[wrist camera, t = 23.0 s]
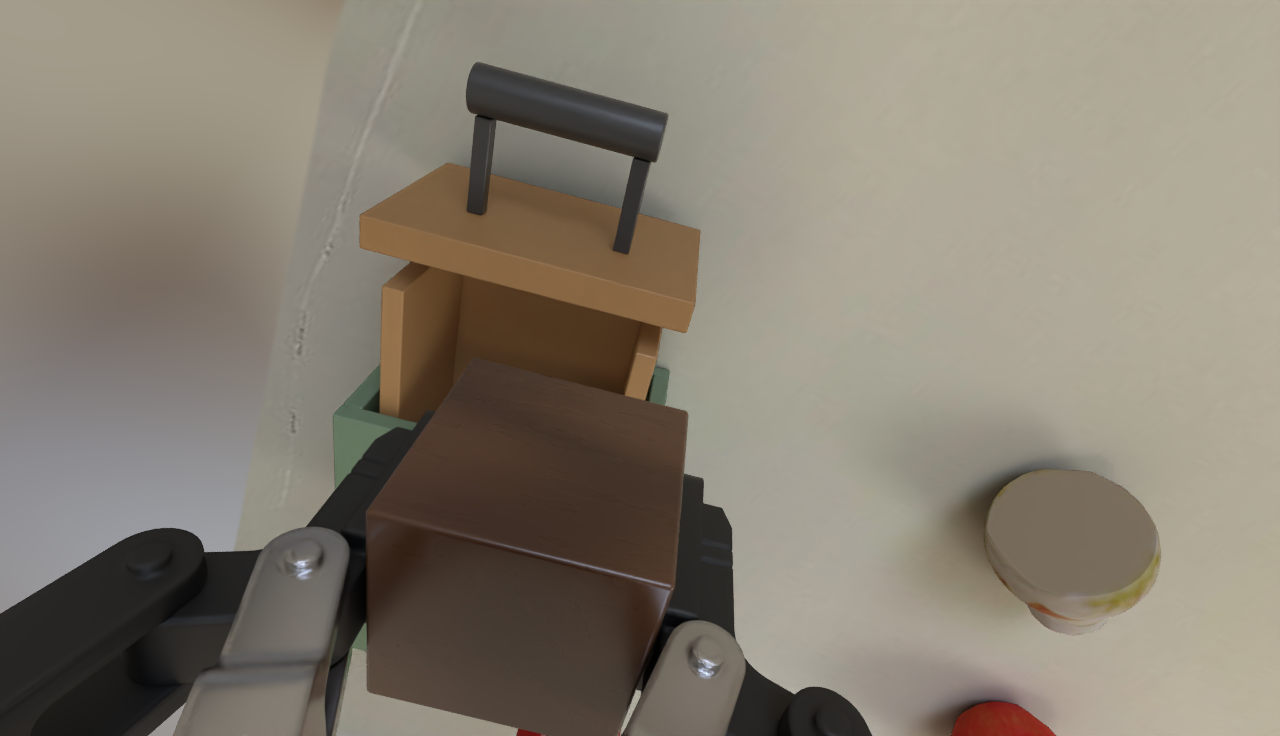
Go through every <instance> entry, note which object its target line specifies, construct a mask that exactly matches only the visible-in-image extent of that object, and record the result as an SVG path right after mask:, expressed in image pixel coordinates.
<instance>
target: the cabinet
mask: <svg viewBox="0 0 1280 736" xmlns="http://www.w3.org/2000/svg"><path fill="white" fill-rule="evenodd" d="M668 379H669V370H666V369H662V368H658V367H655V368H654V371H653V375H652V378H651V381H650V385H649V388H648V392H647V395H646V398H645V401H649V402H653V403H657V404H661V405H665V403H666V395H667V387H668ZM416 425H417V423H415V422H411V421H407V420H403V419H399V418H395V417H391V416H388V415H384V414H380V365H379V366H378V367H377V368H376V369H375V370H374V371H373V372H372V373H371V374H370V375H369V377H368V378H367V379H366V380H365V381H364V382H363V383H362V384H361V385H360V386H359V387H358V388H357V389H356V391H355V392H354V393H353V394H352V395H351V396H350V397H349V398H348V399H347V400H346V401H345V402H344V405H342V406H341V407H340V408H339V409H338V410H337V411H336V412H335V413H334V415H333V437H334V471H335V490H336V488H337V487H338V486H339V485H340V483H341V482H342V481H343V480H344V478H345V477H346V476H347V474H348V473H349V474H350V473H351V469H352V468H353V467H354V466H355V464H356V463H357V462H358V461H359V459H360V460H361V459H362V456H363V454H364V453H365V452H366V450H367V449H368V448H369V447H370V445H371V444H372V443H373V442H374V440H375V439H376V438H378V437H380V436H382V435H383V434H385V433H387V432H388V431H390V430H392V429H394V428H395V427H401V428H405V429H409V430H413V429H414V427H415V426H416ZM352 648H355V649H359V650H364V651H367V633H366V623H364V625H363V627H362V629H361V630H360V632H359V634H358V636H357V637H356V639H355V641H354V643H353V644H352Z"/></svg>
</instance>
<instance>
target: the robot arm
mask: <svg viewBox="0 0 1280 736" xmlns="http://www.w3.org/2000/svg"><path fill="white" fill-rule="evenodd" d="M435 412H436V411H433V410H427V411H426V412H425V414H424V415H423V416H422V418H421V419H420V420H419V422H418V423H417V425H416V426H415V427H414V429H413V430H409V429H405V428H401V427H395V428H394V429H392V430H390V431H388V432H387V433H385V434H383V435H382V436H380V437H378V438H376V439H375V440H374V442H373V443H372V444H371V445H370V447H369V448H368V449H367V450H366V452H365V453H364V454H363V456H362V459H361V460H360V459H359V461H358V462H357V463H356V464H355V466H354V467H353V468H352V469H351V473H350V474H349V473H348V474H347V476H346V477H345V478H344V480H343V481H342V482H341V483H340V485H339V486H338V487H337V488H336V490H335V491H334V492H333V493H332V495H331V496H330V497H329V499H328V500H327V501H326V502H325V504H324V505H323V506H322V507H321V509H320V510H319V511H318V512H317V514H316V515H315V516H314V517H313V519H312V520H311V521H310V523H309V524H308V525H307V526H306V527H304V528H298V529H295V530H291V531H288V532H286V533H283V534H282V535H280V536H278V537H276V538H275V539H273V540H272V541H271V542H269V543H268V544H267V545H266V546H265V547H264V549H261V550H254V551H233V552H204V548H203V545H202V542H201V541H200V539H199V538H198V537H197V536H196V535H194V534H193V533H191V532H188V531H186V530H181V529H176V528H160V529H153V530H149V531H144V532H141V533H138V534H135V535H133V536H130V537H128V538H126V539H124V540H122V541H120V542H118V543H117V544H115V545H113V546H112V547H110V548H108V549H107V550H105V551H103V552H102V553H100V554H98V555H97V556H95V557H93V558H92V559H90V560H89V561H87V562H85V563H83V564H82V565H80V566H79V567H77V568H75V569H74V570H72V571H70V572H69V573H67V574H65V575H64V576H62V577H60V578H59V579H57V580H55V581H54V582H52V583H50V584H49V585H47V586H45V587H44V588H42V589H41V590H39V591H37V592H36V593H34V594H32V595H31V596H29V597H27V598H26V599H24V600H22V601H21V602H19V603H17V604H16V605H14V606H12V607H11V608H9V609H8V610H6V611H4V612H3V613H1V614H0V736H148V735H149V734H150V733H151V732H153V731H154V730H155V729H156V728H157V727H158V726H159V725H161V724H162V723H163V722H164V721H165V720H166V719H167V718H168V717H170V716H171V715H172V714H173V713H174V712H175V711H176V710H178V709H179V708H180V707H181V706H182V705H183V704H184V703H186V704H185V706H184V709H183V711H182V714H181V716H180V719H179V721H178V724H177V726H176V729H175V732H174V734H173V736H336V732H337V727H338V722H339V717H340V711H341V706H342V701H343V696H344V691H345V686H346V681H347V676H348V671H349V666H350V661H351V656H352V644H353V643H354V641H355V639H356V637H357V636H358V634H359V632H360V630H361V629H362V627H363V625H364V623H366V511H367V509H368V508H369V506H370V505H371V504H372V502H373V501H374V499H375V498H376V496H377V495H378V494H379V492H380V491H381V489H382V488H383V486H384V485H385V484H386V482H387V481H388V479H389V478H390V476H391V475H392V474H393V472H394V471H395V469H396V468H397V466H398V465H399V464H400V462H401V461H402V459H403V458H404V456H405V455H406V454H407V452H408V451H409V449H410V448H411V446H412V445H413V444H414V442H415V441H416V439H417V438H418V436H419V435H420V434H421V432H422V431H423V429H424V428H425V426H426V425H427V424H428V422H429V421H430V419H431V418H432V416H433V415H434V414H435ZM703 489H704V481H703V478H699V477H695V476H691V475H687V474H684V479H683V492H682V505H681V518H680V531H679V544H678V557H677V570H676V583H675V590H674V592H673V595H672V597H671V600H670V603H669V605H668V608H667V610H666V613H665V616H664V618H663V621H662V623H661V626H660V629H659V631H658V634H657V636H656V639H655V642H654V644H653V647H652V649H651V652H650V655H649V657H648V660H647V662H646V665H645V668H644V670H643V673H642V676H641V678H640V681H639V683H638V686H637V689H636V690H640V691H641V697H640V699H639V701H638V703H637V705H636V708H635V710H634V712H633V714H632V716H631V718H630V720H629V722H628V724H627V726H626V728H625V730H624V732H623V734H621V736H872V735H871V733H870V730H869V728H868V726H867V724H866V722H865V720H864V719H863V717H862V716H861V714H860V713H859V712H858V710H857V709H856V708H855V707H854V706H853V705H852V704H851V703H850V702H849V701H848V700H847V699H845V698H844V697H842V696H841V695H839V694H838V693H836V692H834V691H831V690H829V689H826V688H822V687H807V688H805V689H802V690H800V691H799V692H797V693H796V694H795V695H794V694H793V693H791V692H789V691H788V690H786V689H784V688H782V687H781V686H779V685H777V684H775V683H774V682H772V681H770V680H769V679H767V678H765V677H764V676H762V675H761V674H760V673H759V672H757V671H756V670H755V669H754V668H753V667H752V666H751V665H750V664H749V663H748V661H747V660H746V659H745V658H744V655H743V652H742V650H741V648H740V646H739V644H738V643H737V641H736V638H735V632H734V598H733V569H732V565H733V556H732V527H731V525H730V523H729V521H728V519H727V517H726V515H725V513H724V511H723V509H722V508H720V507H716V506H712V505H708V504H704V503H703Z"/></svg>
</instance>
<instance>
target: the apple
mask: <svg viewBox="0 0 1280 736" xmlns="http://www.w3.org/2000/svg"><path fill="white" fill-rule="evenodd" d="M951 736H1056V735H1055V734H1054V733H1053V732H1052V731H1051V730H1050V728H1049V727H1047V726H1046V725H1045V724H1043V723H1042V722H1041V721H1039V720H1038V719H1037V718H1036V717H1034V716H1033V715H1032V714H1030V713H1029V712H1028V711H1026V710H1025V709H1023V708H1022V707H1020V706H1018V705H1017V704H1011V703H1006V702H996V701H990V702H985V703H981V704H978V705H976V706H974V707H972V708H970V709H968V710H967V711H965V712H963V713H962V714H961V715H960V716H959V717H957V720H956V722H955V725H954V728H953V731H952V734H951Z"/></svg>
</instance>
